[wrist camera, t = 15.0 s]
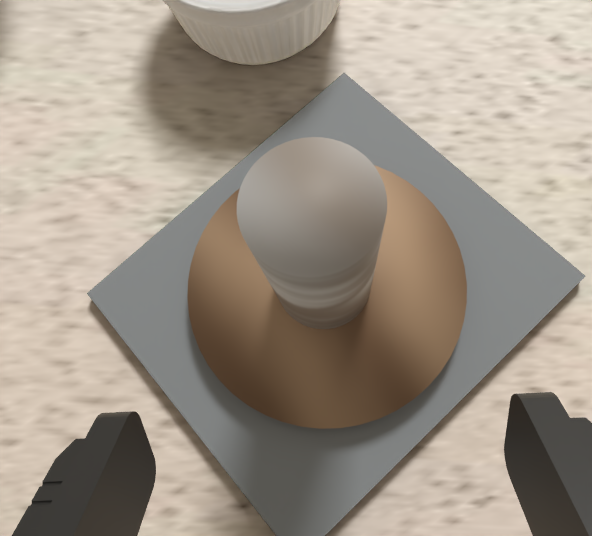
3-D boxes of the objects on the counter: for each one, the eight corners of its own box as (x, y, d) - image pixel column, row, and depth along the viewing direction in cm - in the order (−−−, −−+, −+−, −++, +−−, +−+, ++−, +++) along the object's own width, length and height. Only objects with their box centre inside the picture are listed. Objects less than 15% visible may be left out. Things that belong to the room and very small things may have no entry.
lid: (319, 493, 21) (299, 558, 12) (140, 284, 25) (15, 205, 15) (522, 288, 23) (647, 201, 13) (327, 119, 26) (318, -43, 17)
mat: (299, 558, 21) (297, 562, 21) (92, 296, 25) (86, 293, 25) (579, 279, 23) (585, 276, 23) (344, 79, 27) (343, 72, 27)
